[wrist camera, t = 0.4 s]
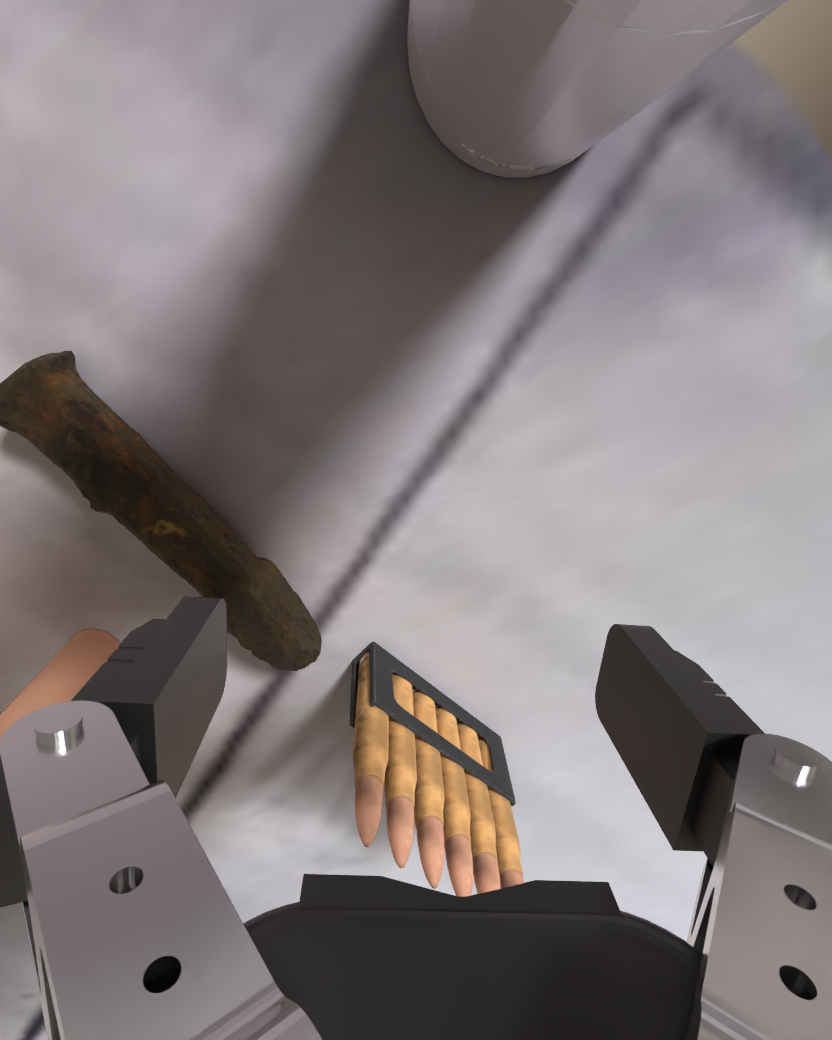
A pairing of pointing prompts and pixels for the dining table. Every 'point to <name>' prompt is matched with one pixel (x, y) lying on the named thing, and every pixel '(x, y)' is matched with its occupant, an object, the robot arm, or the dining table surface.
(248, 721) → the dining table surface
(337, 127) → the dining table surface
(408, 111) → the dining table surface
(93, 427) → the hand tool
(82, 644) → the peg
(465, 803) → the ammunition clip
